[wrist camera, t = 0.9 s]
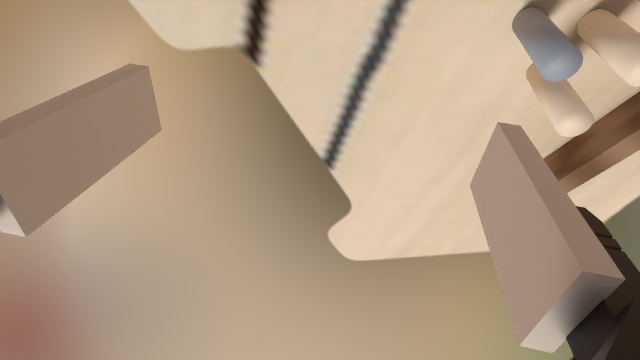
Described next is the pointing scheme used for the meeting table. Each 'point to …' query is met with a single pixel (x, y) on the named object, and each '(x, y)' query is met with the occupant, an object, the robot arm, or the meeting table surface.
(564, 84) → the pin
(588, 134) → the walnut rail
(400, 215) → the meeting table surface
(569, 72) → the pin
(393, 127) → the meeting table surface
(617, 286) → the robot arm
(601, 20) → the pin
